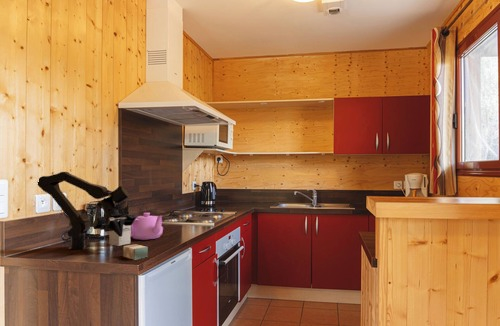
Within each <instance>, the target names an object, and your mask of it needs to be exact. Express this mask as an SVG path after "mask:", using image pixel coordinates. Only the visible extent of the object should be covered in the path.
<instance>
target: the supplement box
mask: <svg viewBox="0 0 500 326" xmlns="http://www.w3.org/2000/svg"><path fill="white" fill-rule="evenodd" d="M108 236H109V238H108V239H109V241H108V242H109V245H112V246H117V247H119V246H120V247H121V246H126V245H131V237H132V236H131V225H130V226H125V225H123V233H122V237H120V236H119V235H117V234H116V233H115V232H114V231H109V235H108Z"/></svg>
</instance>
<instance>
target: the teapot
mask: <svg viewBox="0 0 500 326" xmlns="http://www.w3.org/2000/svg"><path fill="white" fill-rule="evenodd" d="M150 214H151V212H143V215H138V216H137V217H136V219H135V221H134V222H133V224H132V225H131V236H130V237H131V238H132V239H134V240H142V241H148V240H154V239H158V238H160V237H161V236H162V234H163V231H164V227H163V226H162V224H163V219H162V217H163V215H150Z"/></svg>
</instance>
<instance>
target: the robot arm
mask: <svg viewBox="0 0 500 326" xmlns="http://www.w3.org/2000/svg"><path fill="white" fill-rule="evenodd" d="M38 179H39V182H38V181H37V183H38V184H37V187H39V188H40V189H41V190H42V191H43V192H45V193H46V194H48V195H50V196H51V197H52V199H53V200H54V201H55V202H56V204H57V205H58V206H59V207H60V209H61V210H62V211H63V212H64V214H65V215H66V216H67V218H68V219H69V222H70V226H71V228H70V229H69V230H68V231H67V236H68V237H70V247H68V250H83V249H85V248H86V247H87V245H85V234H87V233H88V231H89V230H90V228H91V225H92V228H93V230H100V231H104V232H105V233H107V232H110V231H114V232H115V233H116V234H117V235H119V236H120V237H122V233H123V225H125V226H130V225H132V224H133V222H134V221H135V219H136V218H137V217H136V214H134V213H132V214H131V213H129V214H126V215H125V216H124V217H122V213H121V212H120V213H119V206H116V204H118V205H120V204H122V203H123V202H125V201H126V200H127V199H129V198H130V197H131V196H130V193H129V192H128V190H126V188H124V187H123V185H119V186H118V187H117V188H115V189H114V190H113V191H112V190H110V189H108V188H107V187H106V186H104V185H100V184H95V183H91V182H89V181H86V180H85V179H83V178H80V177H78V176H76V175H73V174H72V173H70V172H69V171H61V172H58V173H55V174H51V175H46V176H45V175H43V176H42V175H41V177H39V178H38ZM62 182H65V183H68V184H69V185H72V186H74V187H76V188H78V189H80V190H83V191H85V192H86V193H87V194H88V196H90V197H92V198H93V199H96V200H98V201H97V203H96V207H98V208H100V209H102V211H103V215H102V216H96V217H95V219H94V221H93V223H91V219H90V218H89V217H88V215H87V214H86V213H85V212H84V213H80V212H79V210H77V209H76V207H75V206H74V205H73V204H72V202H71V201H70V200H69V199H68V198H67V196H66V195H65V194H64V193H63V192H62V190H61V188H60V183H62ZM100 199H101V200H100Z"/></svg>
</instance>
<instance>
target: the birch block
mask: <svg viewBox="0 0 500 326" xmlns="http://www.w3.org/2000/svg"><path fill="white" fill-rule="evenodd" d="M148 250H149V249H148V246H144V245H140V244H137V243H135V244H127V245H123V256H122V257H124V258H127V259H131V260H134V261H136V260H142V259H145V257H147V258H148V256H149V255H148V252H149V251H148ZM141 258H142V259H141Z"/></svg>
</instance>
